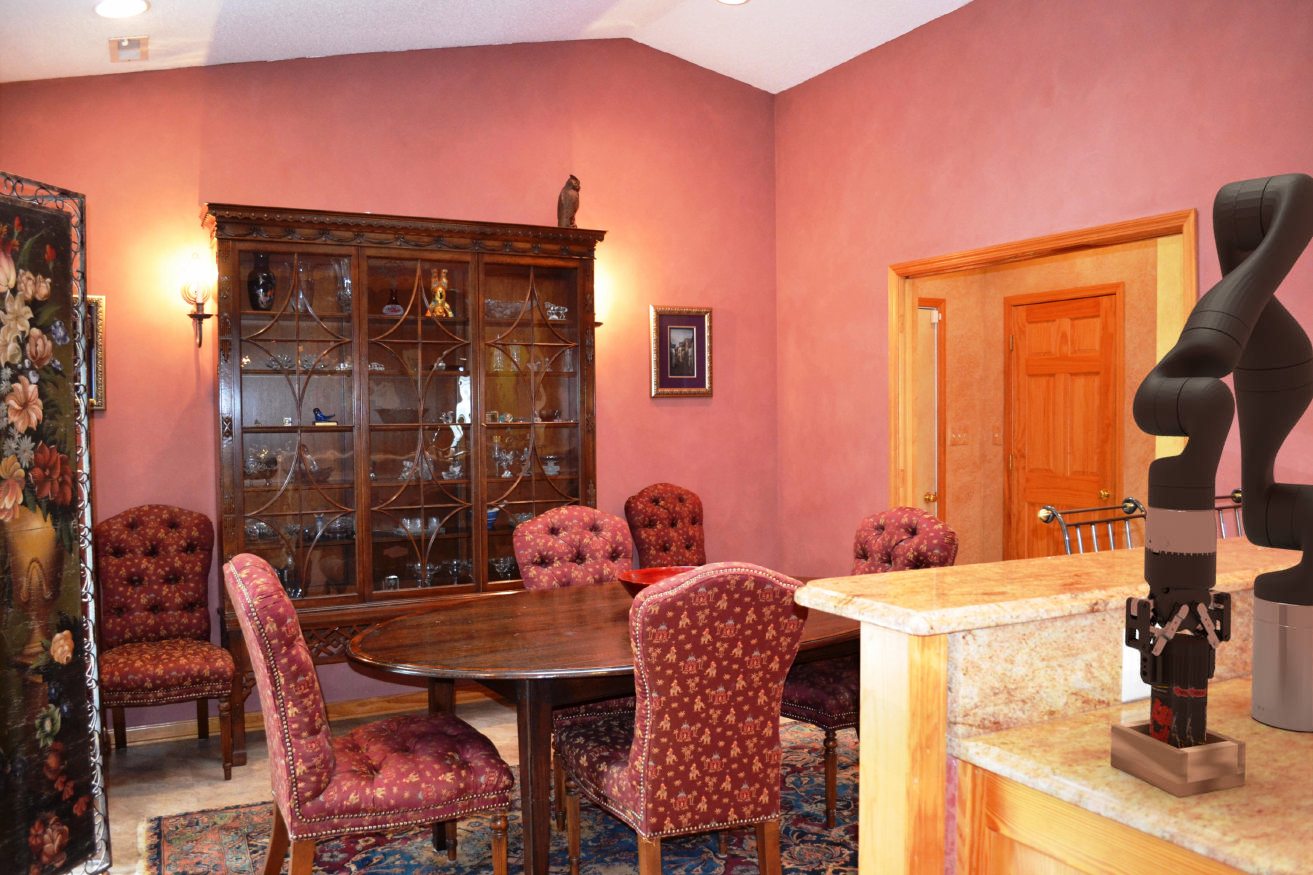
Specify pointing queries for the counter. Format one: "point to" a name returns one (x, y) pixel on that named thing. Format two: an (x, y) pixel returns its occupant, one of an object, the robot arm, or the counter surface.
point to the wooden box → (1178, 760)
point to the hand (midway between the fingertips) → (1177, 680)
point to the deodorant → (1181, 693)
